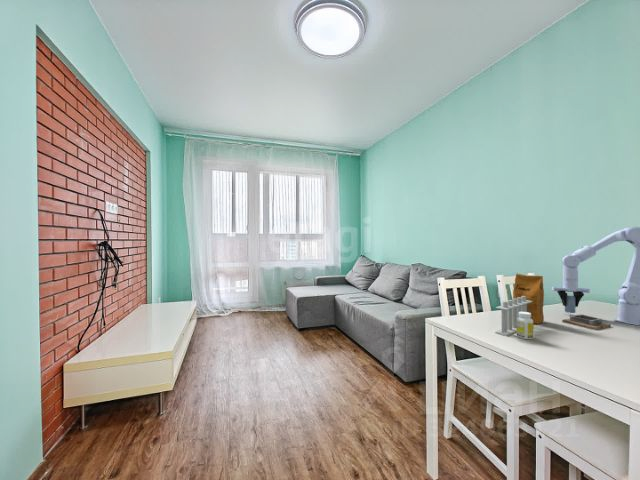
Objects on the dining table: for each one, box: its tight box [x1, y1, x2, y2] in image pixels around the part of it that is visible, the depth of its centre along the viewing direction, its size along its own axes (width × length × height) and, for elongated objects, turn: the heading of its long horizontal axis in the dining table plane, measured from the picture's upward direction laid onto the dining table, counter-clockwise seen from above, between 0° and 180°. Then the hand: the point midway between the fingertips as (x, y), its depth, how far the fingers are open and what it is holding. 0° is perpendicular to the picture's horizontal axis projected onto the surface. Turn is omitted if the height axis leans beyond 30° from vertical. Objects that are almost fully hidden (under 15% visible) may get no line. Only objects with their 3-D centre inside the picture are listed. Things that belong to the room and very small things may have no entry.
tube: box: [564, 294, 577, 314], centre depth 141 cm, size 4×4×8 cm
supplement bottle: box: [516, 312, 534, 340], centre depth 112 cm, size 5×5×10 cm
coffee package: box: [512, 272, 545, 325], centre depth 133 cm, size 10×12×22 cm
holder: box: [561, 313, 612, 331], centre depth 127 cm, size 12×12×3 cm
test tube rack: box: [494, 296, 533, 337], centre depth 121 cm, size 25×4×13 cm, turn 123°
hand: (570, 306), depth 141 cm, fingers closed on tube, 4 cm apart
